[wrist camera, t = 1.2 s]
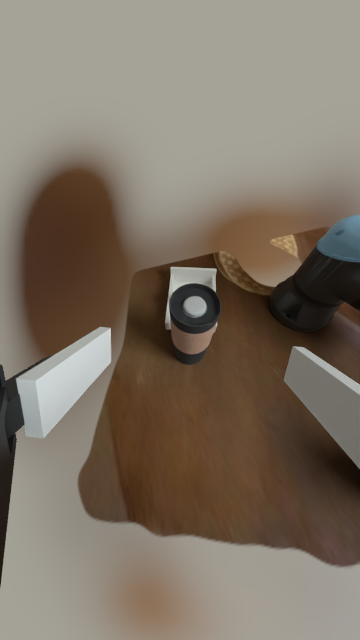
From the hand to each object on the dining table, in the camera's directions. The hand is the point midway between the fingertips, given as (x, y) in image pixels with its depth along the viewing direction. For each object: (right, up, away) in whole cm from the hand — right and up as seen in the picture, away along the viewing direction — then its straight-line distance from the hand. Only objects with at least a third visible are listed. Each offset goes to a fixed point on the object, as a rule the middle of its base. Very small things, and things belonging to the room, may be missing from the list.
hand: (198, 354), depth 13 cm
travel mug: (+1, -5, +30) cm, 31 cm away
